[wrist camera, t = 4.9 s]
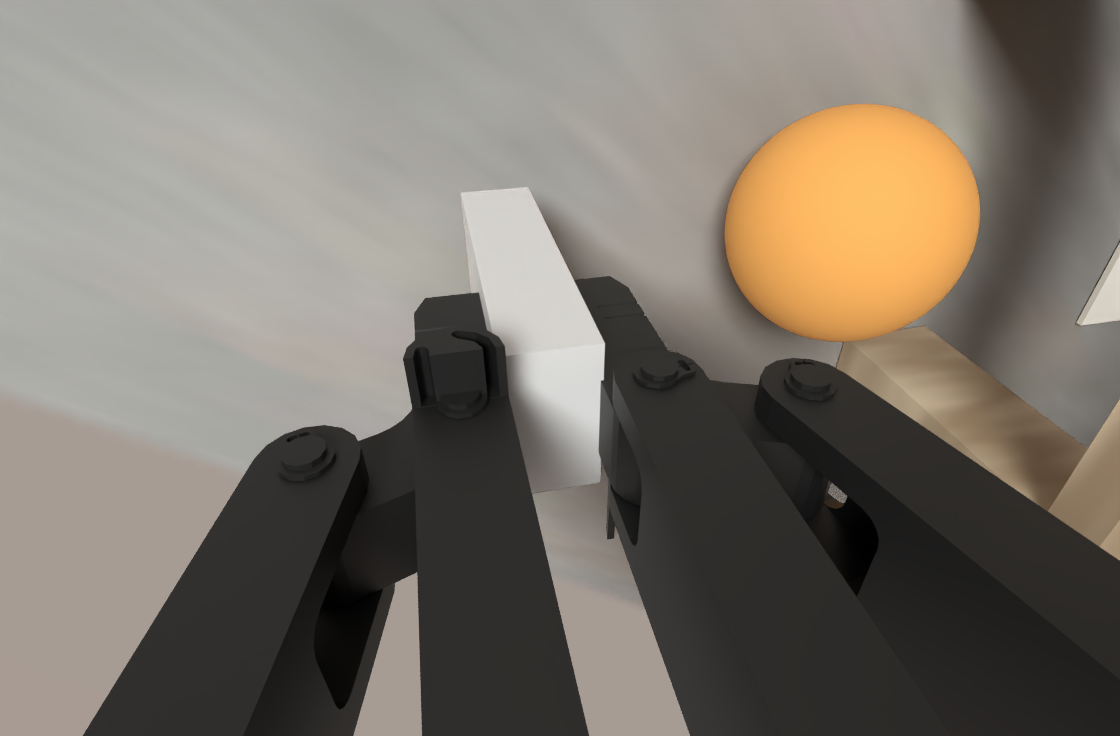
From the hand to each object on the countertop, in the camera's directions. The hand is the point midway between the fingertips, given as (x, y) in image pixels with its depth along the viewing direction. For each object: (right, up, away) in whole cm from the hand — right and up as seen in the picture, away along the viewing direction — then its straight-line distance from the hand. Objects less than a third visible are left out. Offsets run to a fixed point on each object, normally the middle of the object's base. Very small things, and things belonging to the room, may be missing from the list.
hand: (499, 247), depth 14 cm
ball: (+8, +1, +1) cm, 8 cm away
